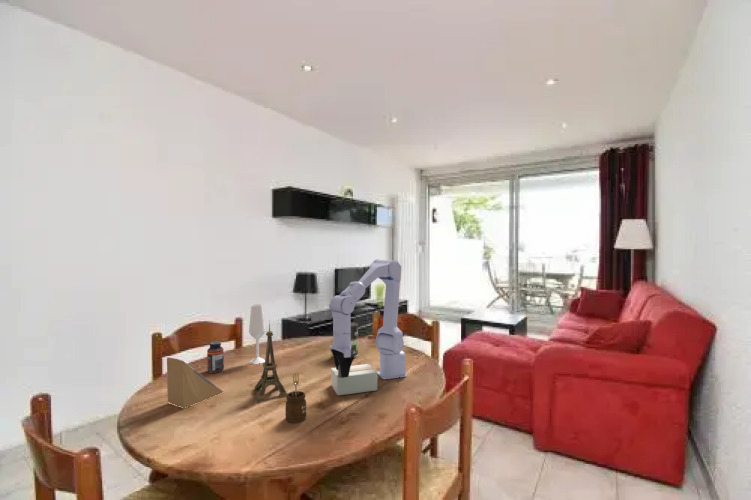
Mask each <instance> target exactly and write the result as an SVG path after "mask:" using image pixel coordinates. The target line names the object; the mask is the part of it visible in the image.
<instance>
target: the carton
mask: <svg viewBox="0 0 751 500" xmlns="http://www.w3.org/2000/svg"><path fill="white" fill-rule="evenodd" d="M372 372H377V370H375V368H374V367H373V366H372V365H370V363H364V364H355V365H351V367H350V372H349V375H355V374H363V373H372ZM330 379H331V380H330V383H331V384H330V385H331V387H332V389H333V390H334V392H335V394H336V396H339V395H338V370H336V367H331V368H330Z"/></svg>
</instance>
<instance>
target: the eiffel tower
mask: <svg viewBox="0 0 751 500" xmlns="http://www.w3.org/2000/svg"><path fill="white" fill-rule="evenodd" d="M270 322H271V319H269V322H268V323H269V324H268V331H266V333H265V335H266V337H267V338H266V339H267V340H266V350H265V359H264V360H265V362H264V363H262V367H263V371H262V374H261V375H260V378H259V380H258V382H257V383H256V384H255V386H254V388H253V389H251V393H252V394H257V395H256V397H255V398H254V400H255V403H261V402H265V401H266V399H265V393H266V389H267V388H268V387H269V386H274V388H275V390H278V392H279V393H278V395H279V397H280V398H281V399H284V398H287V394H288V393H289V392H287V390H286V389H285V386H284V385H283V383H282V382H281V381H280V377H279V375H278V372H277V367H278V365H277V363H276V362H275V355H274V348H273V347H274V346H273V337H272V336H274V332H273V331H271V325H270V324H271V323H270ZM269 371H270V372H271V371H272V374H269Z"/></svg>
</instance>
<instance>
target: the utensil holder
mask: <svg viewBox="0 0 751 500" xmlns="http://www.w3.org/2000/svg"><path fill="white" fill-rule="evenodd" d="M292 377H293V378H292V379H293V380H292V384H291V391H290V392H287V393H288V394H287V397H286V402H285V406H284V407H285V419H286V420H285V421H287V422H289V423H299V422H302V421H304V420H306V418H307V401H306V394H305V392H304V391H300V390H298V388H297V387H298V386H299V380H300V379H299V373H293V374H292ZM293 388H294V391H293Z"/></svg>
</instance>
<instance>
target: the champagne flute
mask: <svg viewBox="0 0 751 500" xmlns="http://www.w3.org/2000/svg"><path fill="white" fill-rule="evenodd" d="M249 317H250V318H249V326H248V333H249V335H250V336H251V337H253V339H255V357H254V358H253V359H251V360H250V361H249V362H251V363H254V364H253V365H259V363H260V364H263V363H265V359H264V358H262V357H260V340H259V339H261V338H262V337H263V336H264V334H266V333H265V332H267V331H266V321H265V313H264V304H261V303H259V304H258V303H257V304H251V306H250V316H249ZM251 363H250V364H251Z"/></svg>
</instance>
